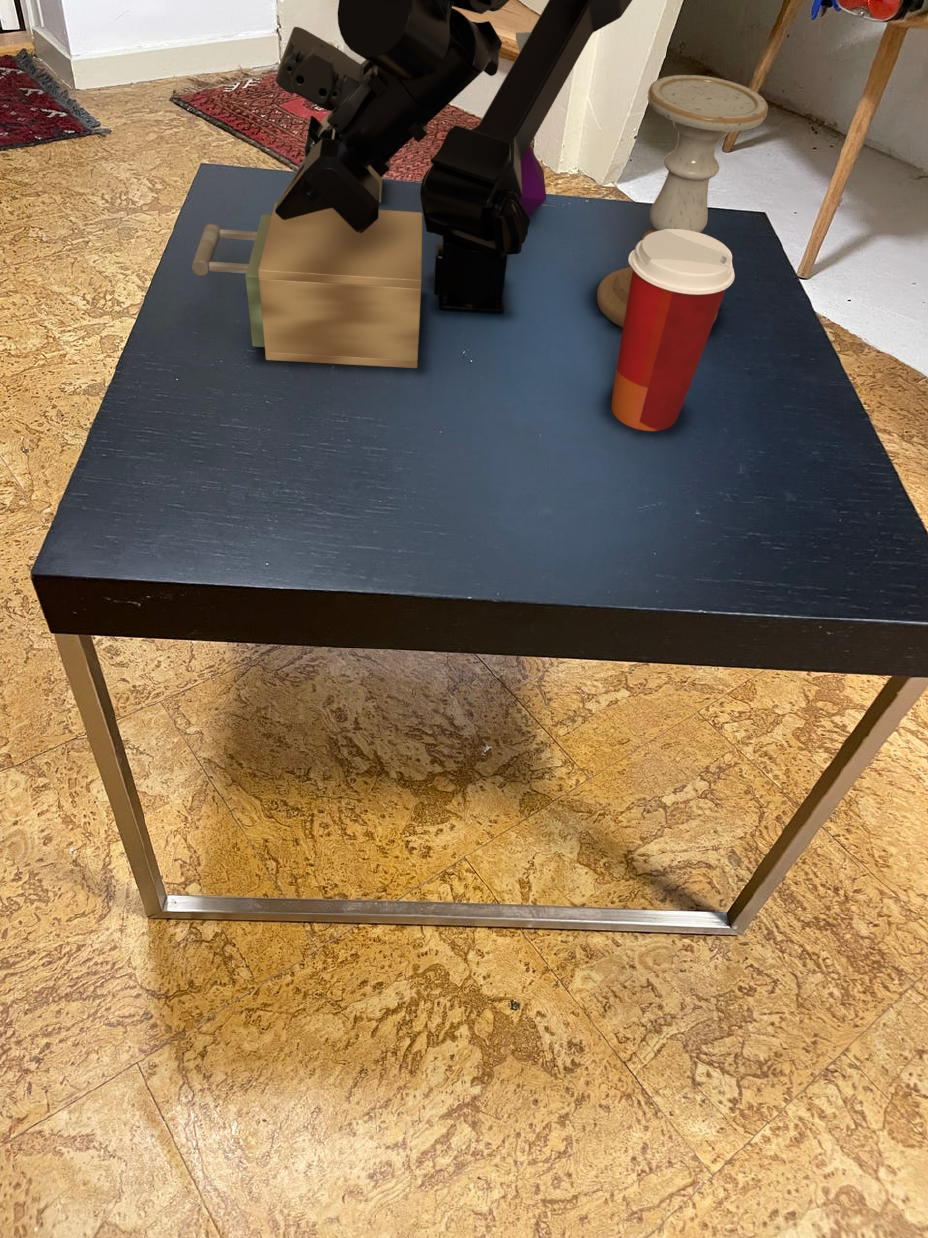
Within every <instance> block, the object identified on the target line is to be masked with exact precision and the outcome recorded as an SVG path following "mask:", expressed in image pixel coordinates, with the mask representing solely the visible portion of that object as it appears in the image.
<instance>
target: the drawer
mask: <svg viewBox="0 0 928 1238" xmlns="http://www.w3.org/2000/svg"><path fill="white" fill-rule="evenodd" d="M271 217H272V214H265V213H263V214H261V216H260V220H259V224H258V227H257V231H251V230H236V229H235V230H234V229H221V228H220V227H219V226H218V225H217V224H215V223H208V224H206V225H205V226H204V229H203V233H202V235H201V238H200V241H199V244H198V247H197V250H196V253H195V256H194V258H193V261H192V265H191V269H192V272H193V274H195V275H197V276H200V277H203V276H207V275H208V273H209V272H215V273H216V272H218V273H230V274H231V273H234V274H245V284H246V294H247V306H248V315H249V325H250V326H249V327H250V337H251V346H252V347H256V348H265V343H264V331H263V320H262V308H261V297H260V285H259V273H258V270H259V266H260V261H261V257H262V253H263V249H264V245H265V241H266V237H267V233H268V229H269V225H270V221H271ZM219 239H227V240H238V241H239V240H240V241H253V247H252V250H251V254H250V258H249V261H248V263H236V262H223V261H222V262H219V261H213V260H214V259H213V258H214V256H215V252H216V249H217V246H218V242H219Z"/></svg>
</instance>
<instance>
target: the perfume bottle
mask: <svg viewBox="0 0 928 1238" xmlns="http://www.w3.org/2000/svg"><path fill="white" fill-rule="evenodd" d="M530 33H531V32H529V31H528V32H526V31H525V32H524V31H523V32H515V40H516V44H517V48H518V51H519V52H520V51H521V49H522V47H523V45H524V44H525V42H526V40H527V38H528V37H529V35H530ZM521 180H522V196H521V198H520V202H521V204H522V206H523V207H524V209H525V211H526V212H527V214H528V216H529V218H530V217H531V216H532V215H533V214H534V213H535V212H536V211H537V210H538V209H539V208H540V206H542V205H543V204H544V202H546V201H547V190H546V181H545V171H544V168H543V167H542V165H541V164H540V162H539V160H538V158H537V157H536V154H535V153H534V149H533V148H532V146H531V145H530V146H529V148H528V149H527V151H526V153H525V155H524V157H523V159H522V161H521Z"/></svg>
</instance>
